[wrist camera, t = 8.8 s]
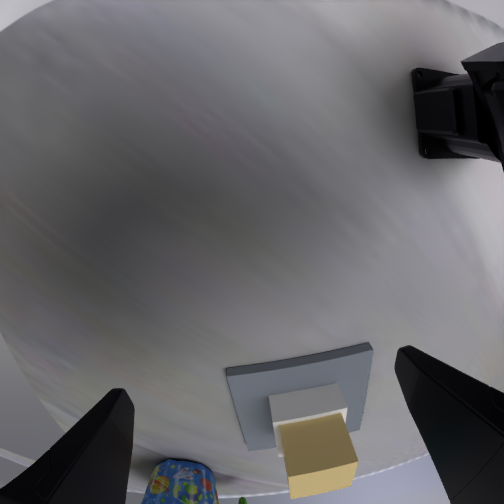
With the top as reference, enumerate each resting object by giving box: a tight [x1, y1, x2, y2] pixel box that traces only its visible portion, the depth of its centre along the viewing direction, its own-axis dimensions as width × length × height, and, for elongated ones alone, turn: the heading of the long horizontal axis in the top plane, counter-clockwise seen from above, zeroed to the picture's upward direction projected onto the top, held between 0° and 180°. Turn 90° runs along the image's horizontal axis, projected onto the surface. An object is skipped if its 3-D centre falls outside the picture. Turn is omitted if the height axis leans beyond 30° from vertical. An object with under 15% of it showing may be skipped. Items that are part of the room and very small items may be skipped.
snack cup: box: [141, 459, 247, 504], centre depth 25 cm, size 16×10×10 cm
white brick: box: [269, 383, 347, 457], centre depth 23 cm, size 6×6×3 cm
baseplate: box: [227, 343, 373, 451], centre depth 25 cm, size 12×12×1 cm
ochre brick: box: [280, 413, 358, 499], centre depth 20 cm, size 5×5×5 cm
